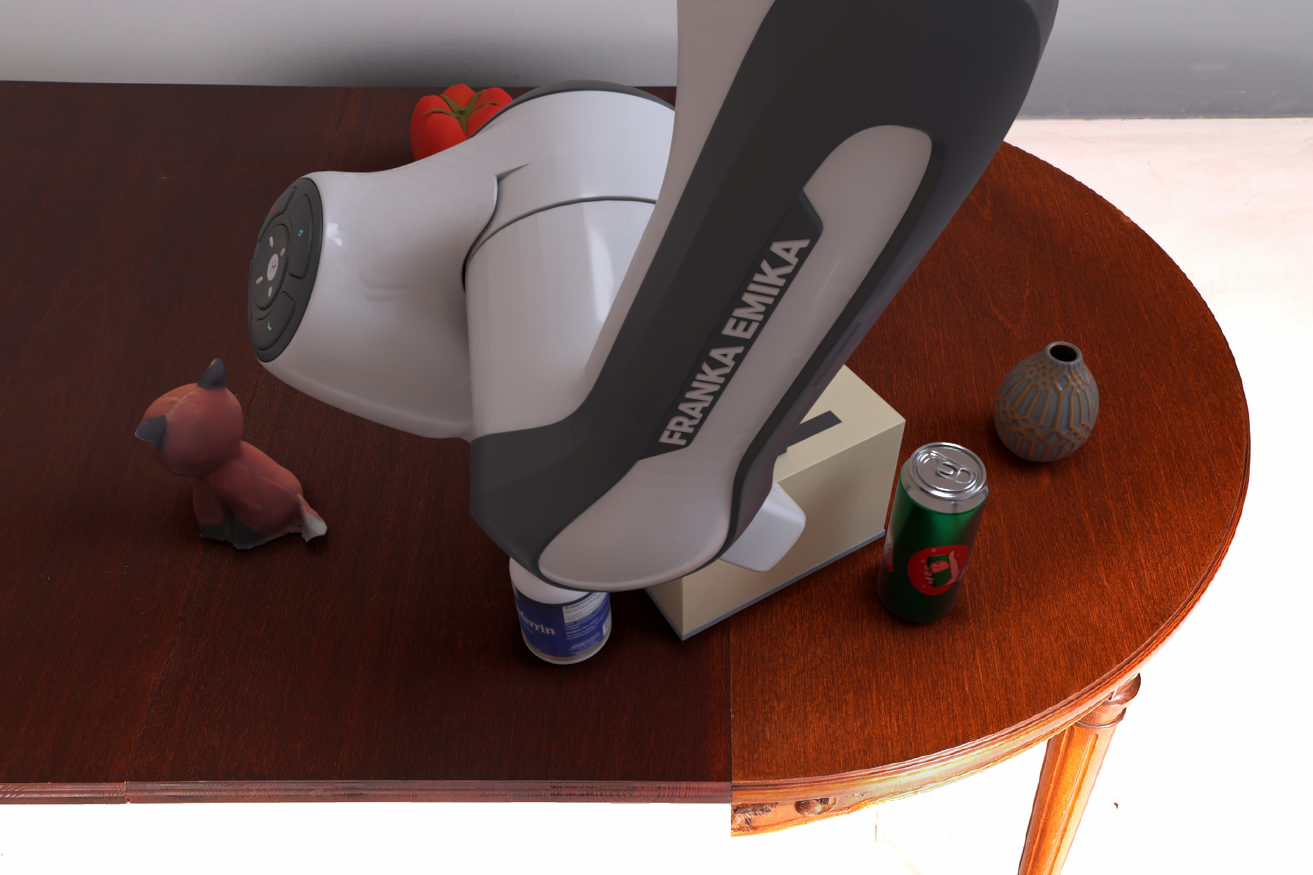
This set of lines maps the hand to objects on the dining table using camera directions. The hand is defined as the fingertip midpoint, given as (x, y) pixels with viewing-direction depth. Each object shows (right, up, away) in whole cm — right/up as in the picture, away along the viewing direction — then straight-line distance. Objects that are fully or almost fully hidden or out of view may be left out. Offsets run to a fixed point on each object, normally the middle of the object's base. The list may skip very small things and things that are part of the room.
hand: (735, 447), depth 60 cm
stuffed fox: (-32, -6, +13) cm, 35 cm away
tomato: (-23, +26, +44) cm, 56 cm away
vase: (+23, 0, +17) cm, 29 cm away
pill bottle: (-10, -12, +6) cm, 17 cm away
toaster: (+1, -6, +12) cm, 13 cm away
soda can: (+12, -10, +8) cm, 17 cm away
